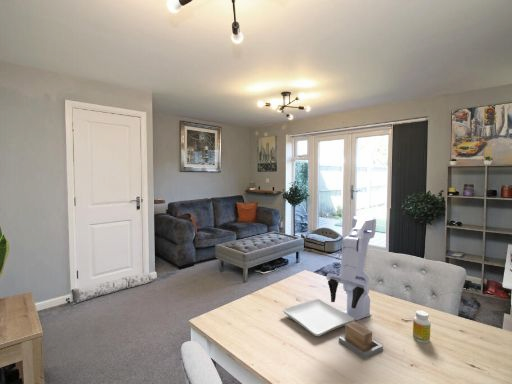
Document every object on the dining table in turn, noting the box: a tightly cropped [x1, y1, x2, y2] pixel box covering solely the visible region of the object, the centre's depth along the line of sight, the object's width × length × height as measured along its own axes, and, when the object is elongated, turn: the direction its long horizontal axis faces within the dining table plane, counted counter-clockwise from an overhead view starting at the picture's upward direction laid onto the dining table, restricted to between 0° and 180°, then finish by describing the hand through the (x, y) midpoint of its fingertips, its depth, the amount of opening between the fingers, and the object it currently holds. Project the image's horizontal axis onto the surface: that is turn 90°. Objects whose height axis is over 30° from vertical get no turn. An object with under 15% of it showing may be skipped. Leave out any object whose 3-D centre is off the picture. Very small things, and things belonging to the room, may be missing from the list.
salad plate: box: [282, 298, 355, 337], centre depth 113 cm, size 21×21×3 cm
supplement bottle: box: [412, 309, 432, 343], centre depth 101 cm, size 5×5×10 cm
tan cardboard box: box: [344, 320, 373, 352], centre depth 98 cm, size 4×8×6 cm, turn 29°
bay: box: [338, 336, 384, 360], centre depth 97 cm, size 10×11×2 cm
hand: (343, 305), depth 99 cm, fingers open, 7 cm apart
